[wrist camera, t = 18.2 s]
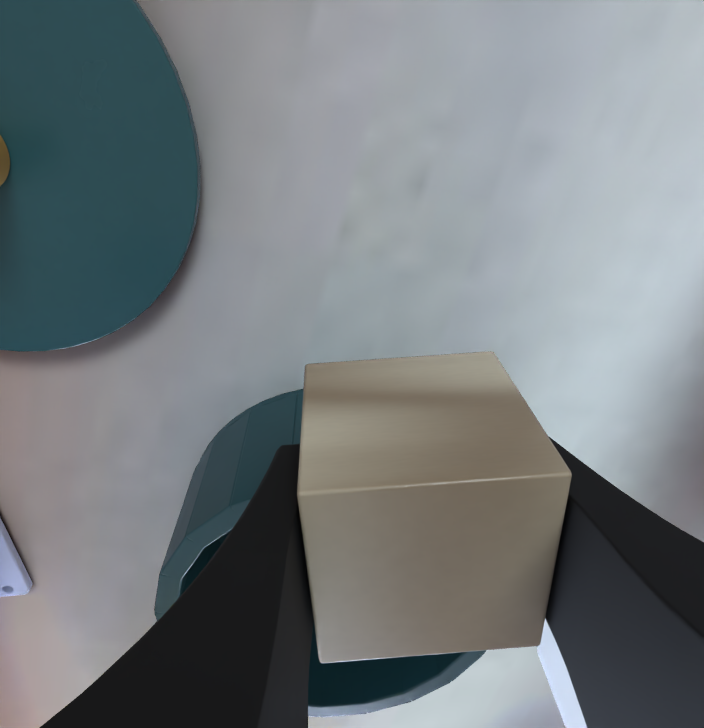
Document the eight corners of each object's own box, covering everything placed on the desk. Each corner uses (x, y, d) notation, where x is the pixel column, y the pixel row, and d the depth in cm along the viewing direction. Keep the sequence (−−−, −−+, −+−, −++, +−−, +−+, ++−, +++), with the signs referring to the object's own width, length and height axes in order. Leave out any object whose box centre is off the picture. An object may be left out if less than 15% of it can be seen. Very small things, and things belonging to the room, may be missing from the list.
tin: (218, 604, 27) (193, 727, 22) (165, 396, 21) (113, 498, 16) (460, 586, 28) (492, 704, 22) (475, 376, 22) (524, 470, 16)
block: (319, 506, 13) (319, 665, 10) (304, 362, 12) (295, 493, 8) (481, 494, 14) (541, 647, 10) (493, 349, 12) (574, 473, 8)
